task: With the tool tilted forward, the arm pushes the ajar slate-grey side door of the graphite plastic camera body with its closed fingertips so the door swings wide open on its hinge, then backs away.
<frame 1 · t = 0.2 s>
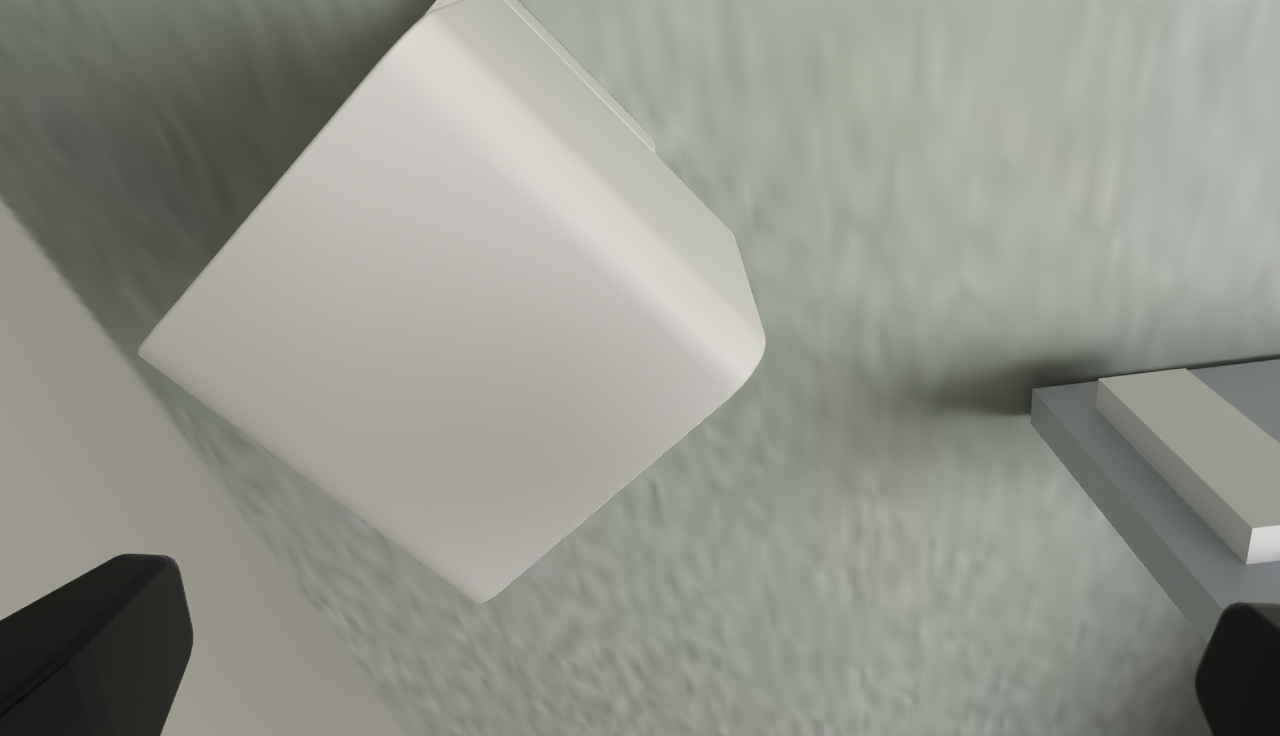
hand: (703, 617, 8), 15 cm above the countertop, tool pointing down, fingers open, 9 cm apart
security camera: (517, 167, 21), on the countertop
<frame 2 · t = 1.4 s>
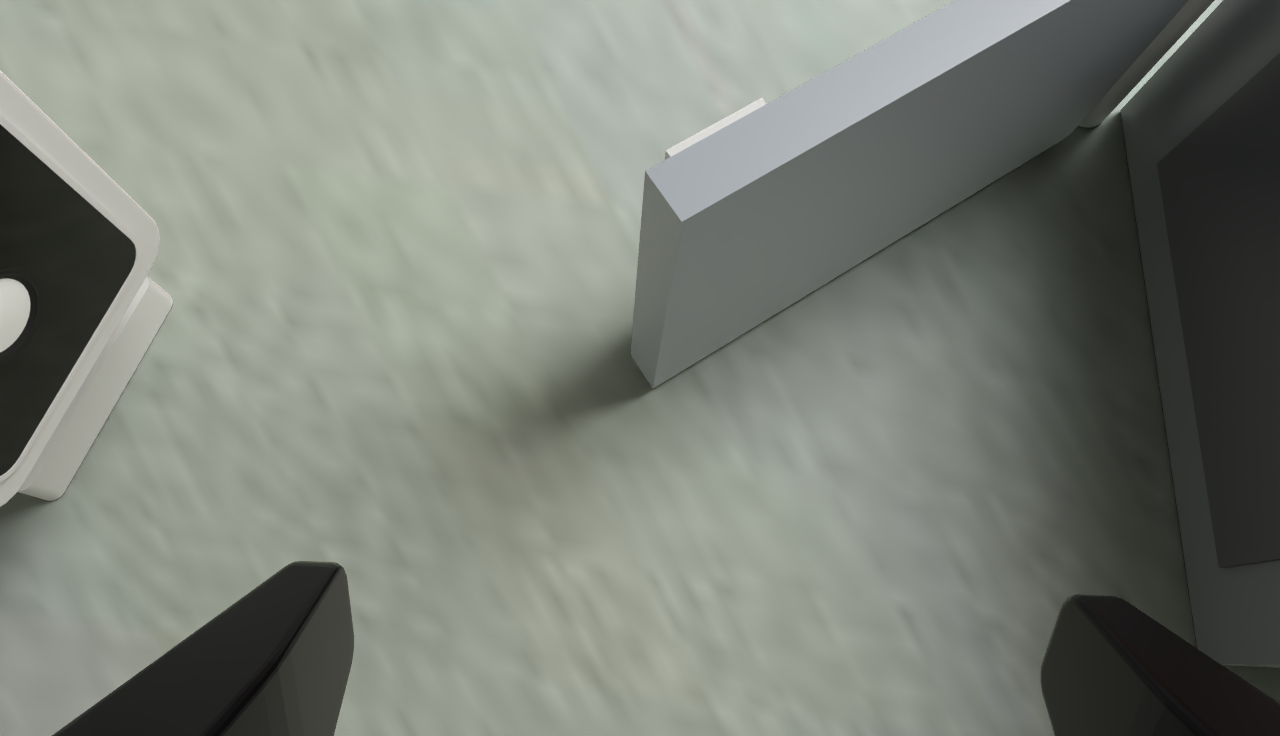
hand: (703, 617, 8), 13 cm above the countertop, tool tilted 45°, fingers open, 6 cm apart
security camera: (51, 371, 22), on the countertop
side door: (904, 134, 19), point 5 cm above the countertop, hinge at 55.0°
camera body: (1084, 108, 25), on the countertop
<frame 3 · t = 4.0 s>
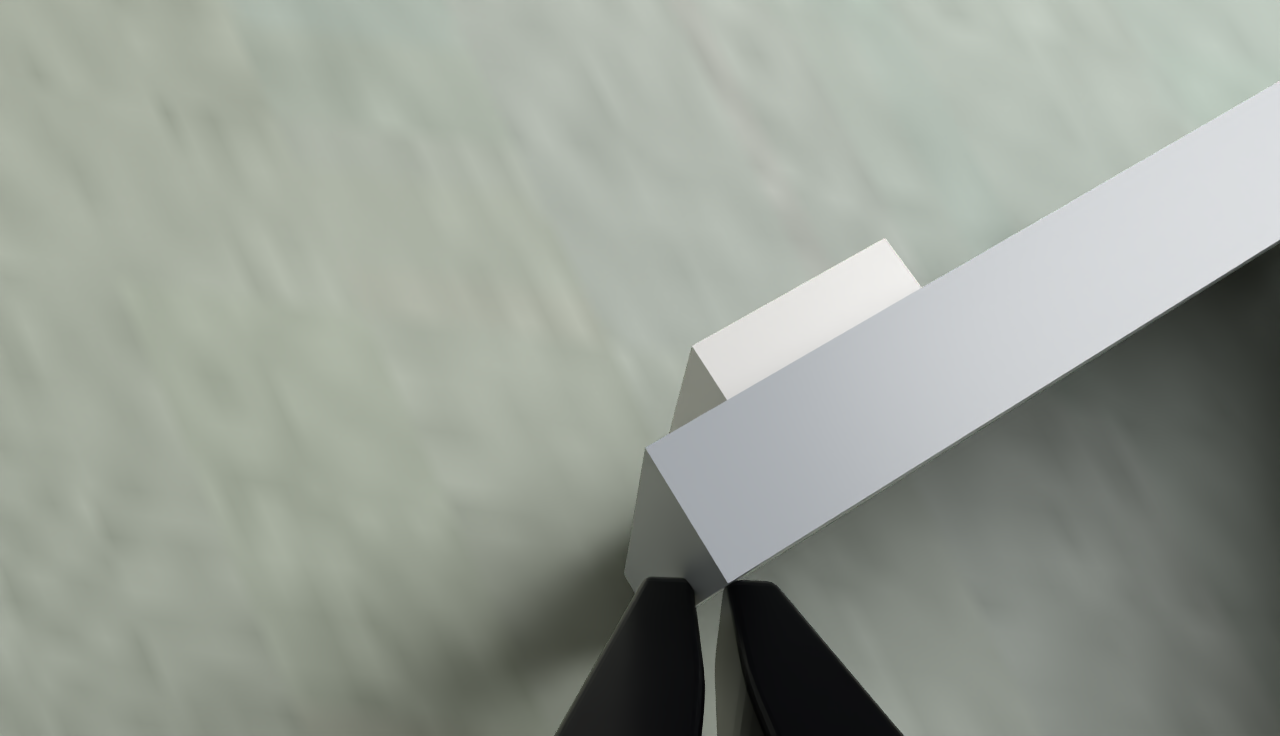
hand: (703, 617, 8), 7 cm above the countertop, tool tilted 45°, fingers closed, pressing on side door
side door: (1096, 267, 11), point 5 cm above the countertop, hinge at 56.5°, touching gripper
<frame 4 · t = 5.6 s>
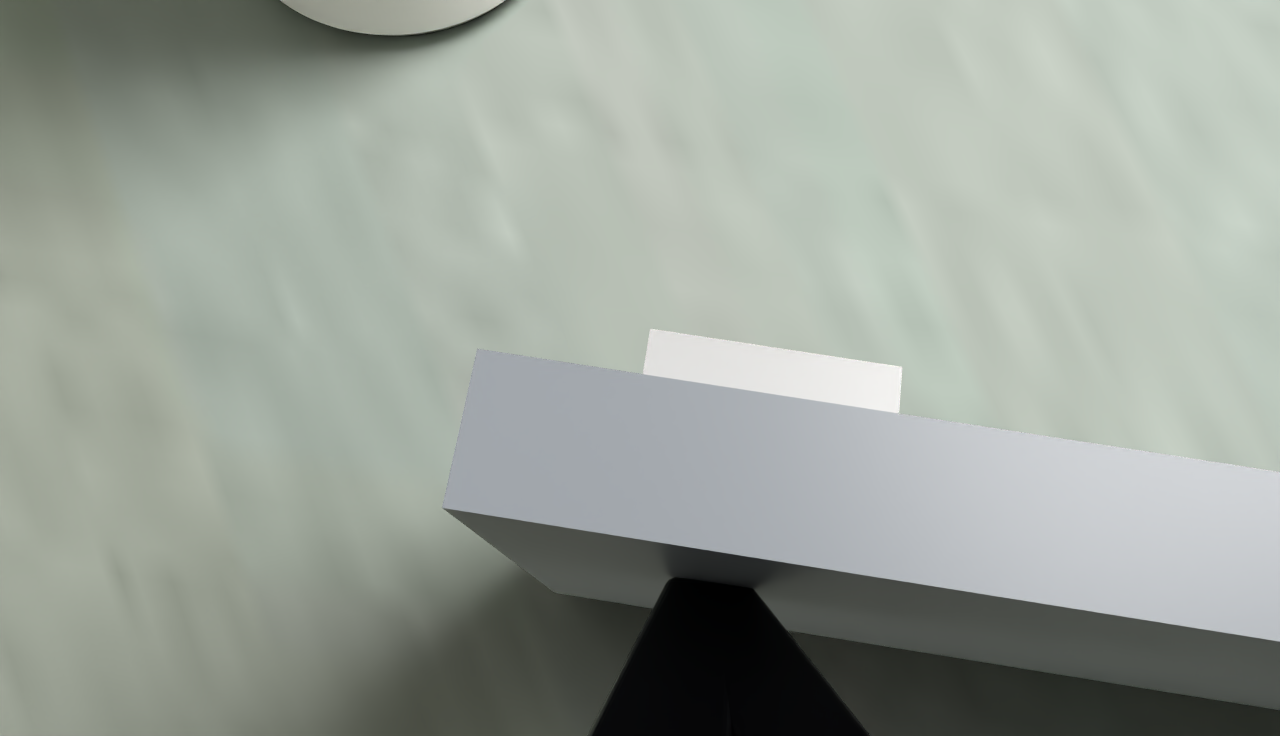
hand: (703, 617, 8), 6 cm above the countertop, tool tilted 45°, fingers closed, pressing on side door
side door: (1161, 582, 10), point 5 cm above the countertop, hinge at 94.4°, touching gripper
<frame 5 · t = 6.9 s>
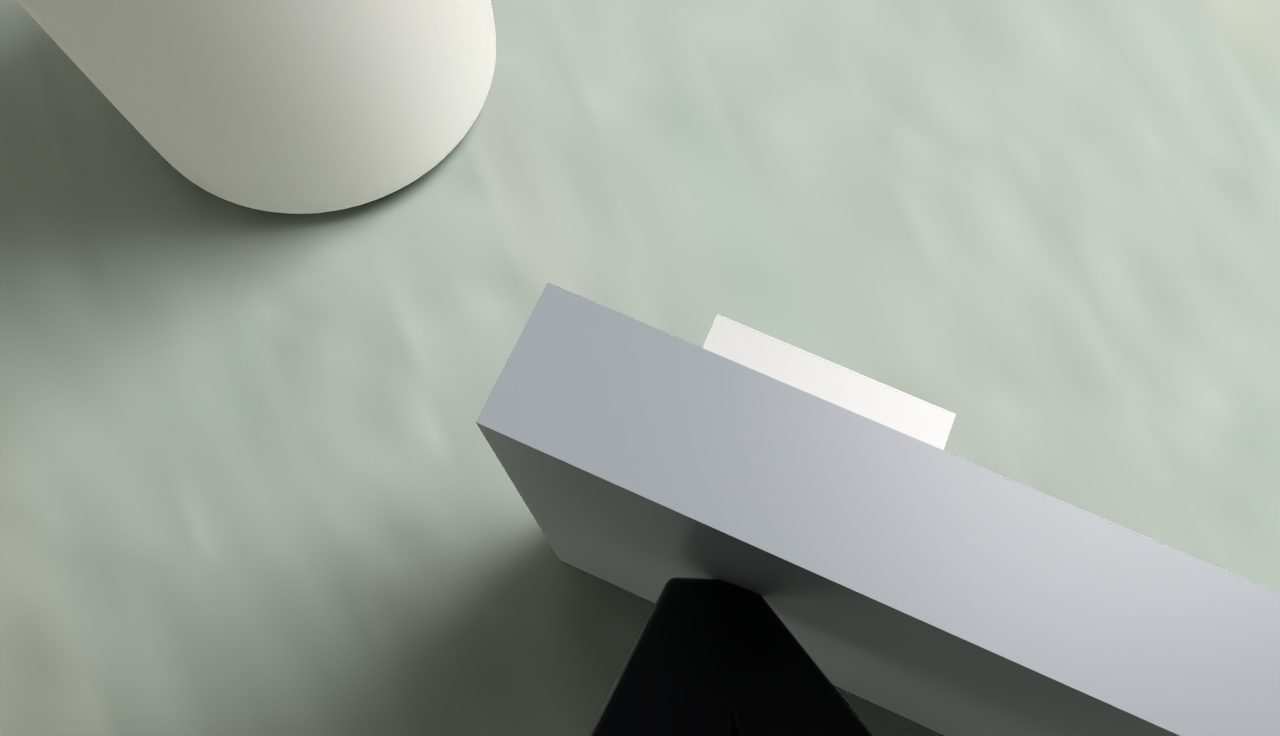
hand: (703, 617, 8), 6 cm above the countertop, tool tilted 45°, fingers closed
can: (327, 73, 17), on the countertop
side door: (1165, 707, 9), point 5 cm above the countertop, hinge at 110.7°, touching gripper
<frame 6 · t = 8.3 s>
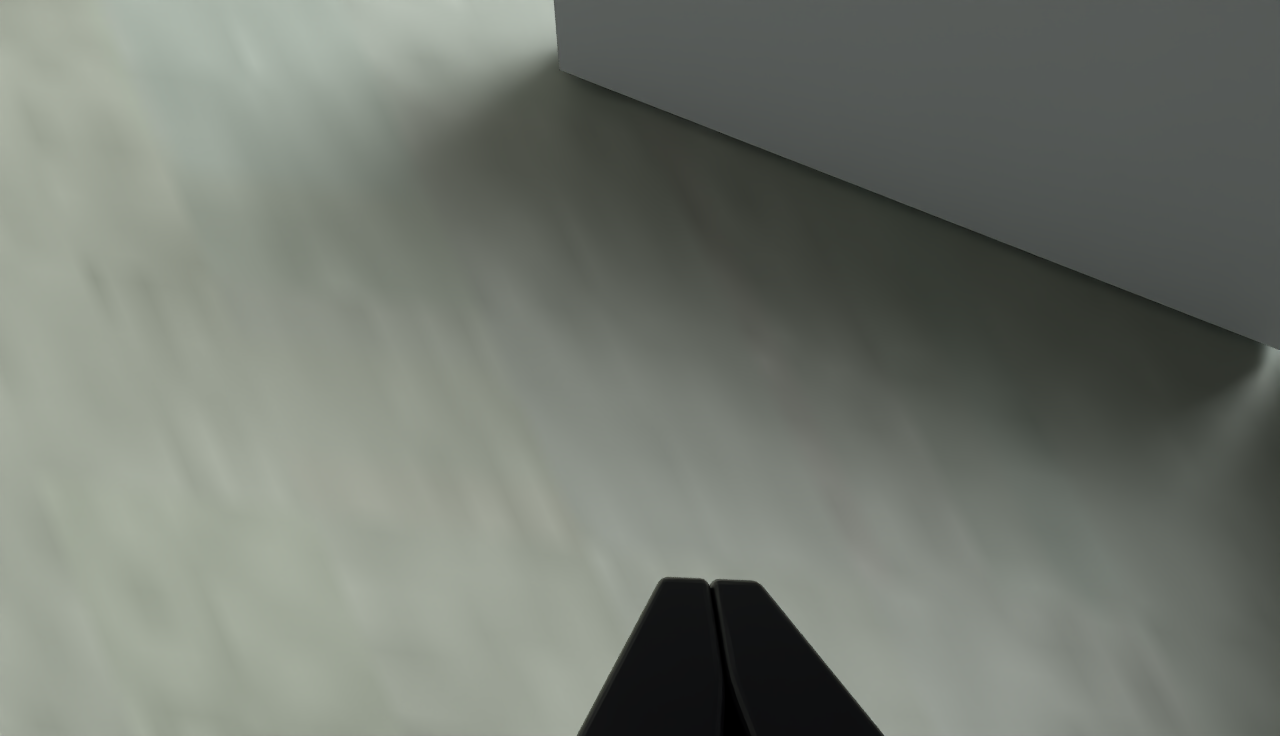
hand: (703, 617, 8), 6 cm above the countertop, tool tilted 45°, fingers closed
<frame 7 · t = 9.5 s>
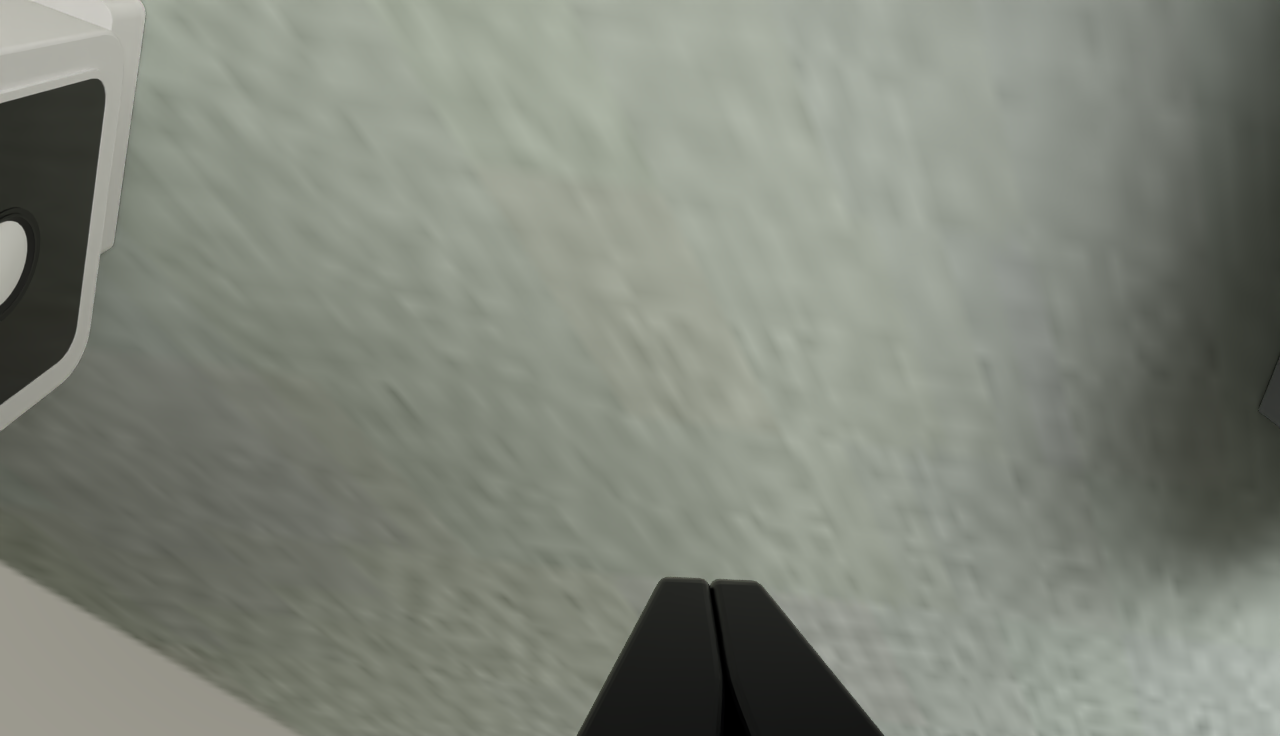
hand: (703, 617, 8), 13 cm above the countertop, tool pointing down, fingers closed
security camera: (35, 97, 18), on the countertop
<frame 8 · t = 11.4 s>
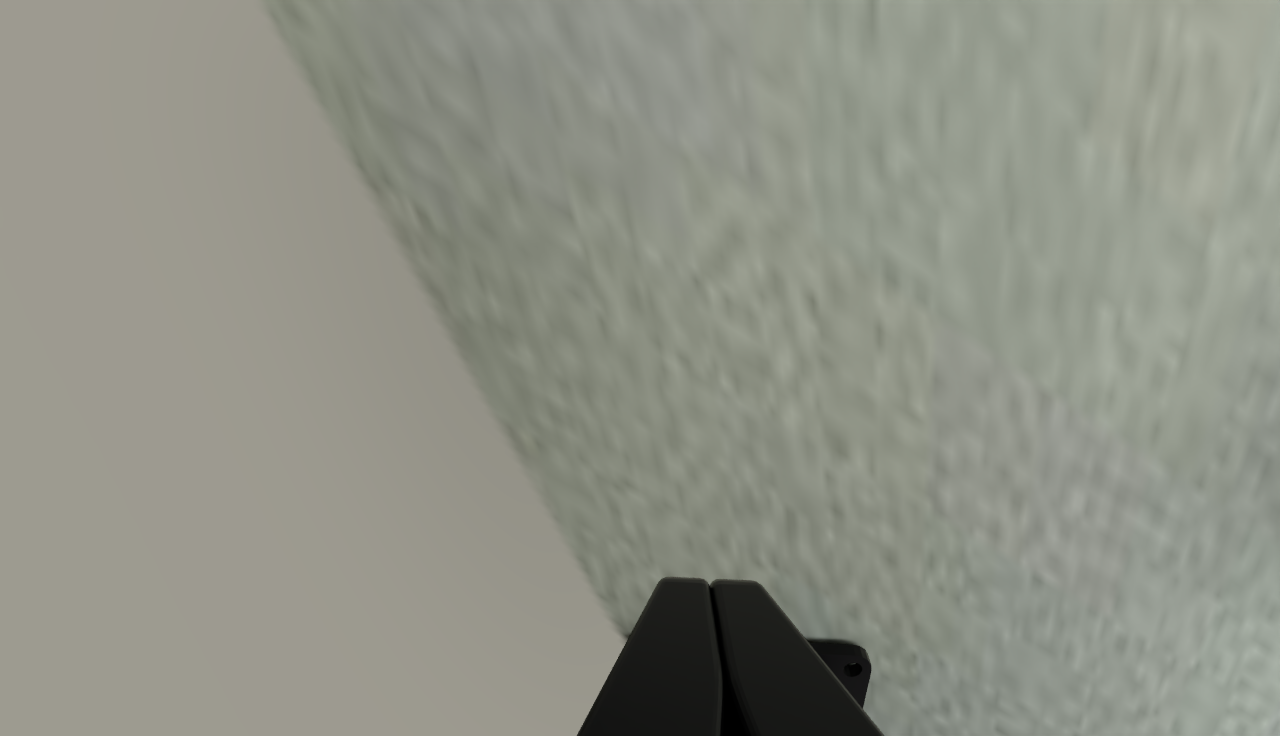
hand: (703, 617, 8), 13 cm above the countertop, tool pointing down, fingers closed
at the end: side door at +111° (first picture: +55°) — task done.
